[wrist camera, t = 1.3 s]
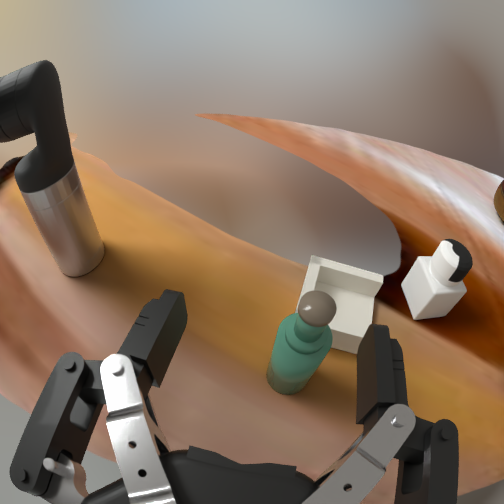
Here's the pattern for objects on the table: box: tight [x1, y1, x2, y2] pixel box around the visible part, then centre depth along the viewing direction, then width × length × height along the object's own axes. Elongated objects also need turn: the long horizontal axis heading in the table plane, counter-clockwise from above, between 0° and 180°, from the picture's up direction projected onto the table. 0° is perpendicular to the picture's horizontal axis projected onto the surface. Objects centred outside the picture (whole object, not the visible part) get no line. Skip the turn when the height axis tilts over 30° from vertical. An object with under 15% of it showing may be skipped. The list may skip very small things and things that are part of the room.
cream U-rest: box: [295, 255, 383, 354], centre depth 39 cm, size 11×11×4 cm
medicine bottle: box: [401, 239, 473, 320], centre depth 38 cm, size 7×7×12 cm
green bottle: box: [266, 290, 337, 395], centre depth 28 cm, size 5×5×16 cm
